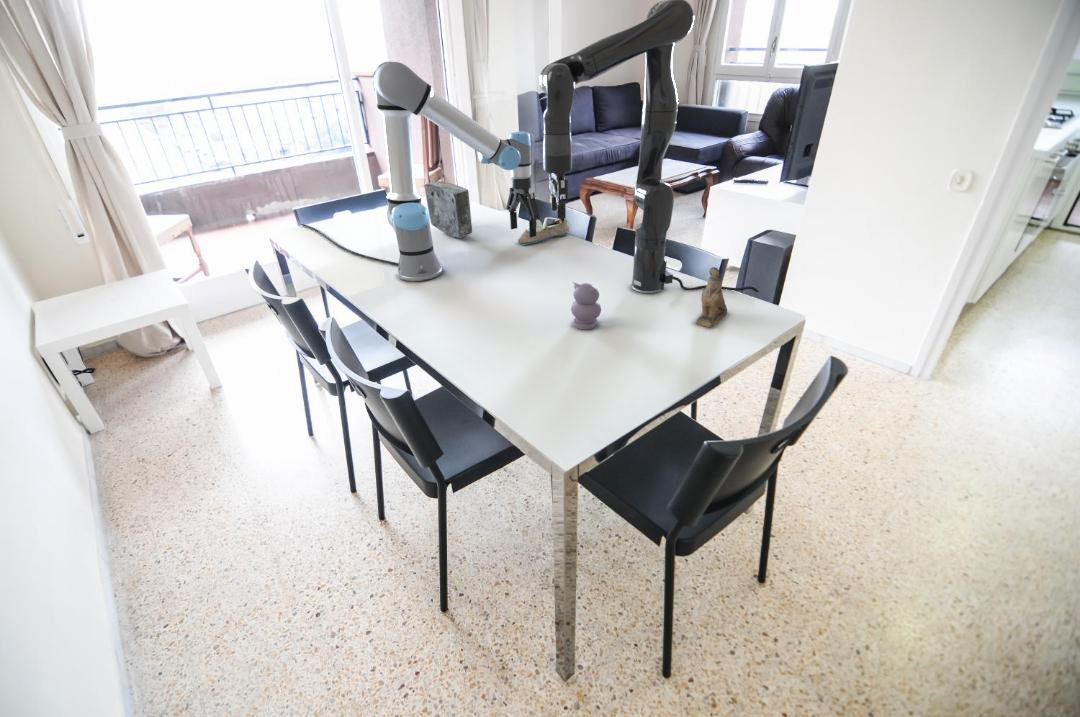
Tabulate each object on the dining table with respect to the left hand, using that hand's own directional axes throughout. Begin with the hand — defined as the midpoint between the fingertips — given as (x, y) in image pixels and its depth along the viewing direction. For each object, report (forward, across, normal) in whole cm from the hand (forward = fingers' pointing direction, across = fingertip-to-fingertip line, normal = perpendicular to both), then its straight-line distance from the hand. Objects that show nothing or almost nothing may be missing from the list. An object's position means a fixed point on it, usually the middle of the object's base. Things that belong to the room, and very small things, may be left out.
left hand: (523, 232), depth 198 cm
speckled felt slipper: (+4, 0, -10) cm, 11 cm away
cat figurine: (+5, -70, +26) cm, 75 cm away
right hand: (-22, -53, +23) cm, 62 cm away
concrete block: (+5, +30, +16) cm, 35 cm away
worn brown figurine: (+4, -89, -4) cm, 89 cm away
